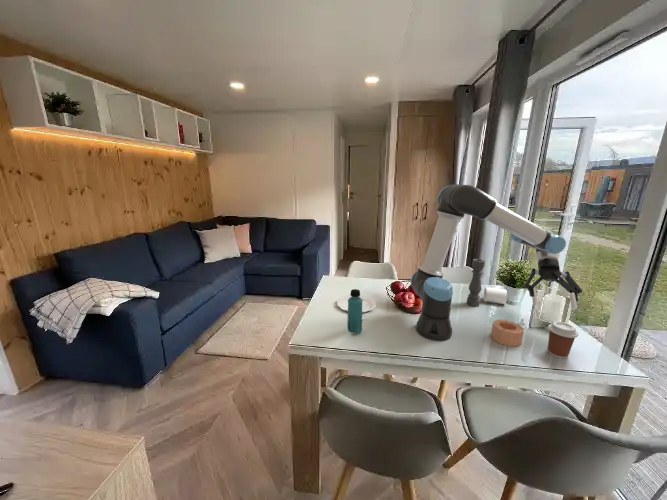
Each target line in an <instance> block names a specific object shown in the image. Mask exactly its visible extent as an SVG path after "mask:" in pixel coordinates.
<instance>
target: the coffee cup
mask: <svg viewBox="0 0 667 500" xmlns="http://www.w3.org/2000/svg"><path fill="white" fill-rule="evenodd" d="M547 329H548V330H549V331H548V333H549V334H548V342H547V353H548V354H550V355H551V356H553V357H556V358H559V359H567V358H568V357H569V355H570V353H571V350H572V347H573V344H574V342H575V339H576V338H579V332H578V331H577V329H576V327H575V326H574V325H572V324H570V323H567V322H564V321H559V320H558V321H553V322H551V323H550V324H548V325H547Z"/></svg>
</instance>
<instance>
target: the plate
mask: <svg viewBox="0 0 667 500" xmlns="http://www.w3.org/2000/svg"><path fill="white" fill-rule="evenodd" d="M350 297H352V296H351V295H347V296H342V297H340V298H339V299H337V300H336V306H337V307H338V308H340V309H341V310H342V311H346V312H348V309H346V308H344V307H343V304H344V302H346V301H347V302H348V299H349V298H350ZM359 297H360V298H361V299H362V300H363V301H364V302H366V303H368V304H369V305H370V307H369V308H368V309H367V310H362V313H366V312H371V311H372V310H374V309H375V308H376V307H377V304H376V301H375V300H374V299H372V298H370V297H369V296H363V295H360V296H359Z"/></svg>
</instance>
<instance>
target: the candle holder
mask: <svg viewBox="0 0 667 500" xmlns="http://www.w3.org/2000/svg"><path fill="white" fill-rule="evenodd" d="M485 263H486V260H485V259H482V258H473V259H472V264H471V265H472V270H471V273H472V278H471V281H470V283H469V285H468V289H469V290H468V291H469V294H467V298H466V305H468V306H470V307H473V308H477V307H480V304H481V303H480V302H481V299H480V298H481V297H480V293H481V292H482V280H481V277H482V275H483V273H484V271H483V270H484V268H485Z"/></svg>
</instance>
